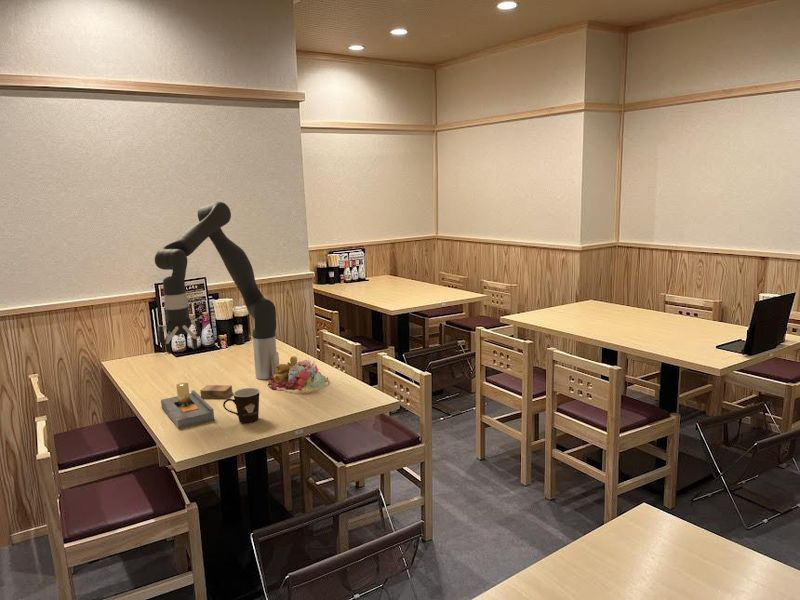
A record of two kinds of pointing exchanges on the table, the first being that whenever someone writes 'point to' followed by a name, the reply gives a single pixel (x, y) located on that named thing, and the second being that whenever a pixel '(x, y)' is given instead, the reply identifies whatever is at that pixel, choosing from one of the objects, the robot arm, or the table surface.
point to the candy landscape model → (298, 377)
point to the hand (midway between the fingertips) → (181, 351)
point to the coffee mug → (246, 405)
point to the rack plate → (188, 411)
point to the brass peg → (183, 394)
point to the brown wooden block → (216, 391)
